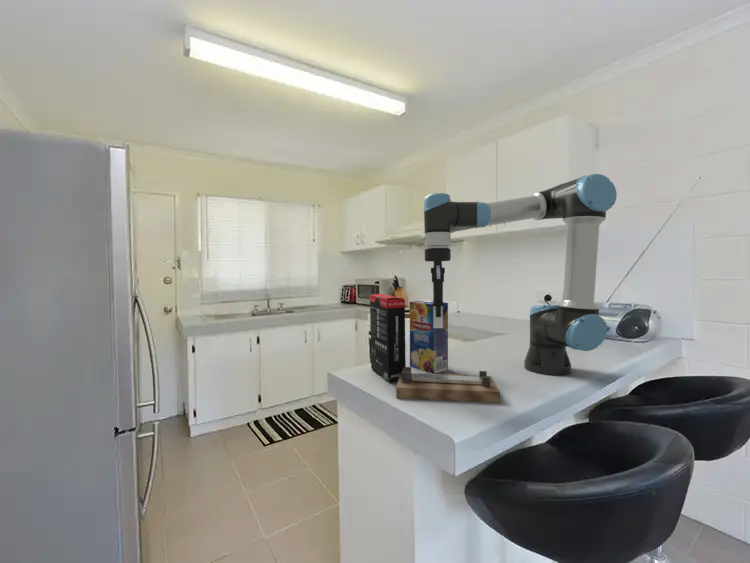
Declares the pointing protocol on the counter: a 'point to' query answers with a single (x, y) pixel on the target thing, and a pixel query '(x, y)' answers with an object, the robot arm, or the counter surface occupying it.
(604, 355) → the counter surface
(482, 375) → the plate
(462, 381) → the latch bar
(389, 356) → the graphics card box
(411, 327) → the juice carton
